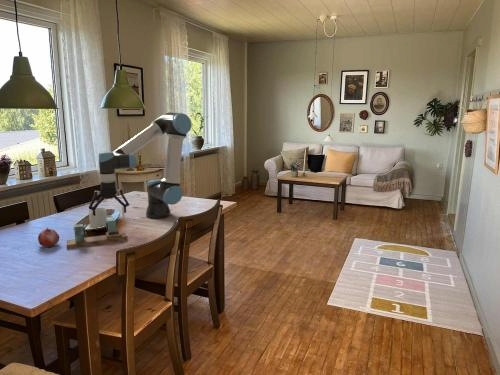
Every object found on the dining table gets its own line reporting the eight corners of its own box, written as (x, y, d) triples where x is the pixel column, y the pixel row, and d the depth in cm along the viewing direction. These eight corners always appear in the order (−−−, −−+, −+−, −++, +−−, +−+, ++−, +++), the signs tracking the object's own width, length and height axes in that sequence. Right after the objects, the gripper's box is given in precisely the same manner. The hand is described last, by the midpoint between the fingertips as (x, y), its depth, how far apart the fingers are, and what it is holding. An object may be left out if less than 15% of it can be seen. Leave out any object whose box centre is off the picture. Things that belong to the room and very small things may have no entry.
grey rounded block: (101, 232, 203) (99, 212, 200) (87, 230, 205) (85, 211, 202) (113, 225, 214) (112, 206, 212) (99, 224, 216) (98, 205, 214)
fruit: (43, 242, 187) (41, 223, 185) (63, 242, 188) (61, 223, 186) (34, 249, 178) (32, 229, 176) (54, 248, 179) (52, 229, 177)
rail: (125, 235, 197) (124, 218, 195) (127, 240, 191) (125, 221, 188) (67, 244, 185) (65, 225, 183) (67, 248, 179) (64, 229, 177)
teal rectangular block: (115, 232, 203) (114, 218, 201) (116, 234, 199) (115, 220, 197) (106, 233, 201) (105, 219, 199) (107, 235, 197) (106, 221, 195)
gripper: (131, 178, 202) (133, 215, 207) (81, 181, 192) (84, 220, 196) (133, 181, 196) (135, 219, 200) (82, 184, 185) (85, 224, 189)
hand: (110, 220), depth 198 cm, fingers open, 13 cm apart
